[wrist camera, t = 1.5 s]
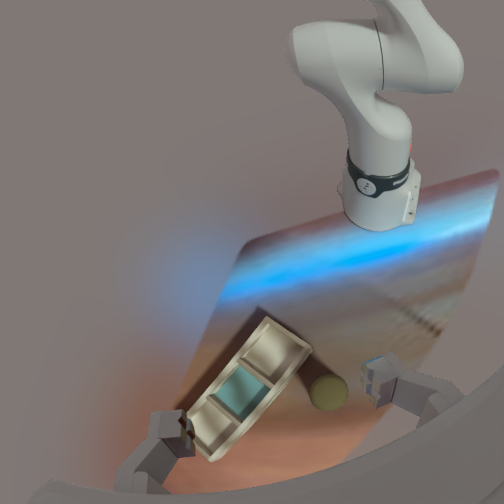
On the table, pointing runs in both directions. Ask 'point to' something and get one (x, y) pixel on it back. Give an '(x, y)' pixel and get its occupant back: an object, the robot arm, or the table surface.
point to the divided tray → (246, 388)
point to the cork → (328, 392)
